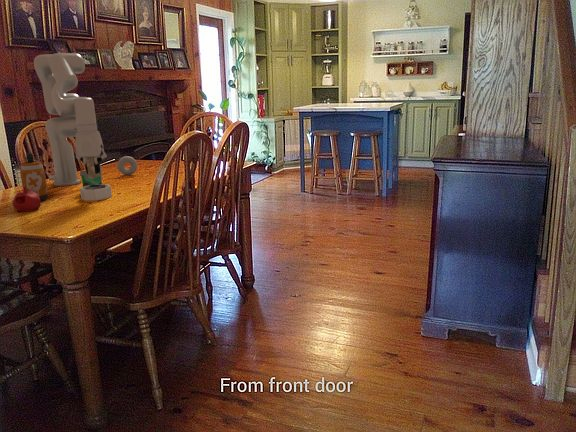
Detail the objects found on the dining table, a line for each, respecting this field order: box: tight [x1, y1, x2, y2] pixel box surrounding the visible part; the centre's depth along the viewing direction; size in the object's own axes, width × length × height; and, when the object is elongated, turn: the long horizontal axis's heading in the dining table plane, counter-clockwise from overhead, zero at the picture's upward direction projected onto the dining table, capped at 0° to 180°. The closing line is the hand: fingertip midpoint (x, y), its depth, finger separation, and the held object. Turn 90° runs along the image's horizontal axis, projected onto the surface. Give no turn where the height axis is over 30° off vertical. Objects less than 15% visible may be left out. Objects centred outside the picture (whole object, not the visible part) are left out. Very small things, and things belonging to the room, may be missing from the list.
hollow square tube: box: [86, 183, 105, 190], centre depth 208 cm, size 6×6×4 cm
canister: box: [19, 152, 49, 202], centre depth 206 cm, size 9×11×20 cm
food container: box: [79, 166, 104, 187], centre depth 221 cm, size 12×6×10 cm, turn 168°
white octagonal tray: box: [79, 183, 113, 202], centre depth 208 cm, size 11×11×4 cm
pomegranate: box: [11, 186, 42, 212], centre depth 190 cm, size 10×10×9 cm
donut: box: [116, 155, 138, 176], centre depth 257 cm, size 10×4×10 cm, turn 109°
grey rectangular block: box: [86, 157, 99, 178], centre depth 205 cm, size 3×3×9 cm
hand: (93, 173), depth 206 cm, fingers closed on grey rectangular block, 3 cm apart
